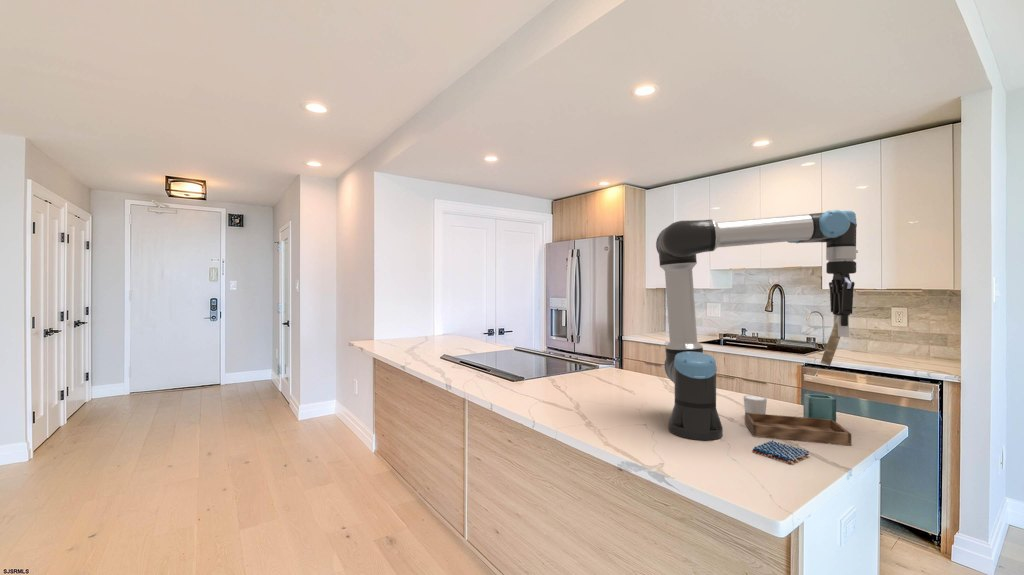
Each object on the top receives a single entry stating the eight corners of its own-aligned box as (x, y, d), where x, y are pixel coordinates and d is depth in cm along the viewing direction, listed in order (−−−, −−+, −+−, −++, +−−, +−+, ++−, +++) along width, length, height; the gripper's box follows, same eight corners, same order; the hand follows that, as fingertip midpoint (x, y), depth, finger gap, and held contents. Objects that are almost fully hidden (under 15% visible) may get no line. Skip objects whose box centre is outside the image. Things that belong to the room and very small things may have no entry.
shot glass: (765, 417, 148) (765, 396, 148) (768, 422, 142) (768, 401, 142) (742, 414, 151) (742, 394, 151) (744, 420, 145) (744, 398, 145)
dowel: (822, 365, 138) (824, 308, 138) (819, 364, 141) (821, 308, 140) (849, 367, 136) (851, 309, 136) (845, 366, 138) (847, 309, 138)
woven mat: (812, 458, 113) (812, 450, 113) (792, 467, 108) (792, 459, 108) (770, 446, 122) (770, 439, 122) (750, 454, 117) (750, 446, 117)
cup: (809, 426, 138) (809, 397, 138) (803, 421, 143) (803, 393, 143) (836, 428, 136) (836, 399, 136) (829, 423, 141) (829, 395, 141)
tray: (753, 436, 129) (753, 425, 129) (745, 422, 142) (745, 412, 142) (851, 445, 121) (851, 433, 121) (832, 430, 134) (832, 419, 134)
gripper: (866, 259, 129) (866, 339, 129) (845, 262, 144) (845, 333, 144) (836, 259, 131) (836, 338, 131) (818, 262, 146) (818, 333, 146)
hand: (841, 335), depth 138 cm, fingers closed on dowel, 2 cm apart
